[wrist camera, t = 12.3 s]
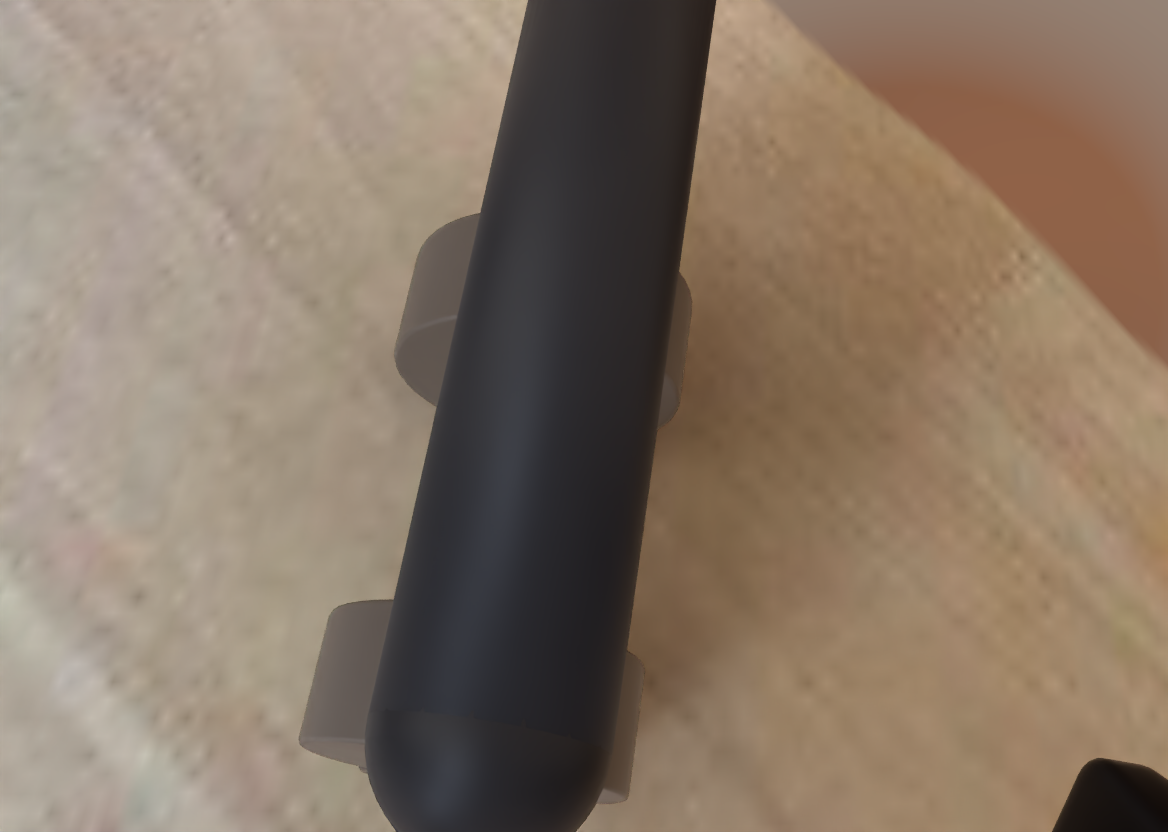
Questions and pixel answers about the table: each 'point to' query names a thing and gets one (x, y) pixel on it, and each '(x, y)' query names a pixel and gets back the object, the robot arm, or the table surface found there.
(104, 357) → the table surface
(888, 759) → the table surface
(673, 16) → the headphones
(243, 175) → the table surface
